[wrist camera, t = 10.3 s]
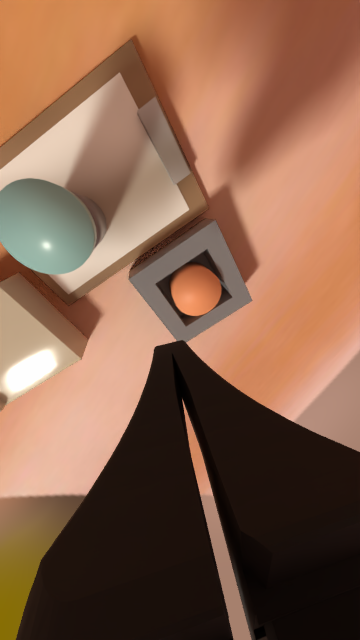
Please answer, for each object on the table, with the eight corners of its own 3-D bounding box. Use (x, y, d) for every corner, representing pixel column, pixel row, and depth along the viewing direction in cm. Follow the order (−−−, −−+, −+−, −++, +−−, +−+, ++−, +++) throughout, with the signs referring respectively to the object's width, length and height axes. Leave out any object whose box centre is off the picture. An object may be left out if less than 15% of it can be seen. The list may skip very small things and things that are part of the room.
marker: (70, 254, 15) (30, 285, 9) (42, 202, 13) (-32, 194, 7) (115, 239, 15) (107, 259, 9) (93, 186, 13) (65, 165, 7)
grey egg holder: (129, 270, 16) (128, 279, 14) (204, 218, 16) (215, 219, 14) (175, 331, 20) (180, 345, 18) (239, 290, 19) (252, 300, 17)
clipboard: (-47, 190, 12) (-61, 189, 11) (131, 44, 11) (130, 29, 10) (70, 303, 17) (66, 309, 16) (207, 208, 15) (211, 208, 14)
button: (160, 278, 16) (163, 287, 14) (199, 252, 16) (207, 258, 14) (183, 312, 18) (189, 324, 16) (219, 289, 18) (229, 298, 16)
